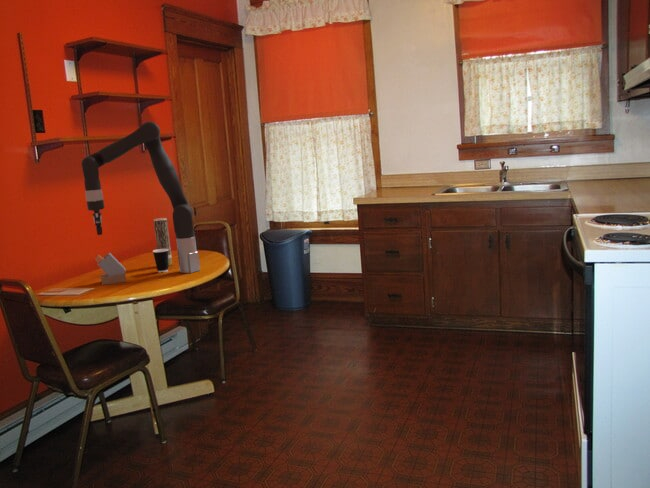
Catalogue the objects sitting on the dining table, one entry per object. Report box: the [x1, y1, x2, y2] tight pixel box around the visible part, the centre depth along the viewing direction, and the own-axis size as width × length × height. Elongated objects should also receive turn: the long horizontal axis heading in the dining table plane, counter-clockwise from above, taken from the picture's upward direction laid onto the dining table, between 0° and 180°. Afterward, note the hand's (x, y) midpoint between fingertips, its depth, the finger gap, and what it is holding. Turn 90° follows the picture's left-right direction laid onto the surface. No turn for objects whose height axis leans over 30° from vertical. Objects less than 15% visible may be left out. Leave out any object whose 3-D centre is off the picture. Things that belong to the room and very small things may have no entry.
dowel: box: [94, 254, 104, 263], centre depth 296 cm, size 3×3×12 cm
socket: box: [97, 252, 127, 286], centre depth 296 cm, size 12×9×14 cm
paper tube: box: [153, 217, 173, 267], centre depth 326 cm, size 7×7×25 cm
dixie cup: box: [152, 248, 169, 274], centre depth 312 cm, size 8×8×11 cm
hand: (99, 233), depth 292 cm, fingers open, 8 cm apart
